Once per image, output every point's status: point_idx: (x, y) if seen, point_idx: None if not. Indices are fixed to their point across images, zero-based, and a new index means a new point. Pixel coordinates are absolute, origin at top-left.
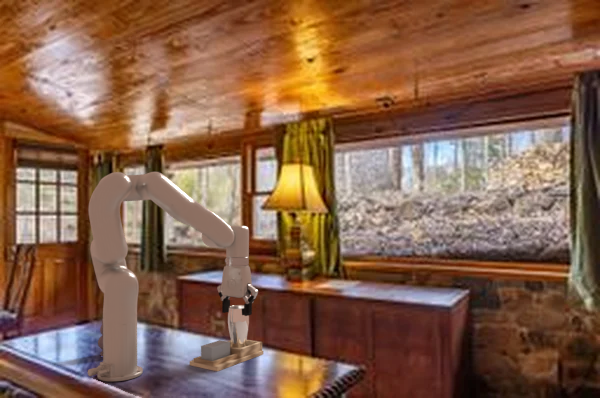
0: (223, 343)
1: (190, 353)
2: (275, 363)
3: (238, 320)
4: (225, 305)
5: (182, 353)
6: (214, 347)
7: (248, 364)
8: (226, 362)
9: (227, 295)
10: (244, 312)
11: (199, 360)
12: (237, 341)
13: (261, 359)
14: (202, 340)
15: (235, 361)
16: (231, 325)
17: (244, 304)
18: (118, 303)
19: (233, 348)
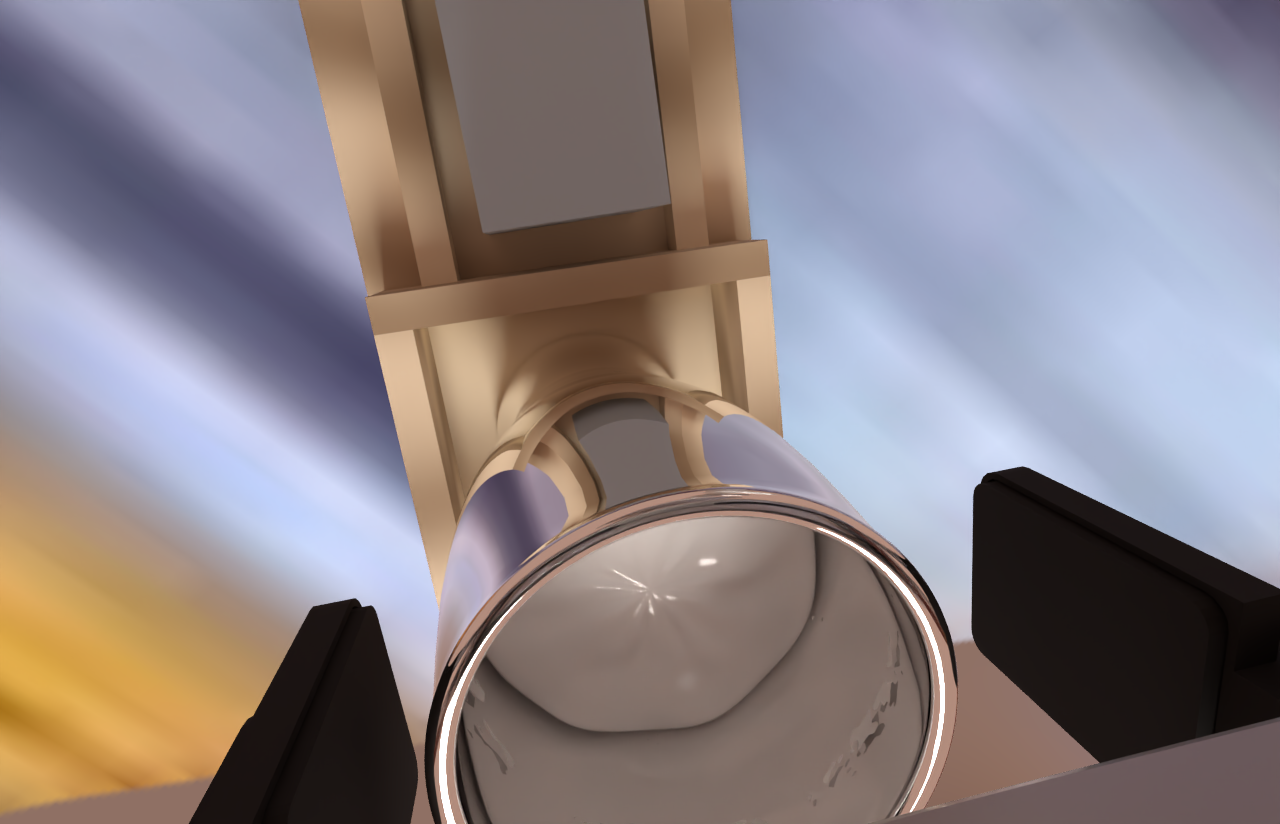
0: (477, 108)
1: (1012, 171)
2: (83, 485)
3: (489, 475)
4: (1091, 595)
5: (1073, 121)
6: None
7: (259, 285)
8: (360, 76)
9: (1230, 738)
10: (327, 637)
11: None
12: (537, 395)
13: (315, 482)
14: (1213, 513)
15: (344, 189)
16: (612, 380)
17: (255, 815)
18: None
19: (480, 280)
